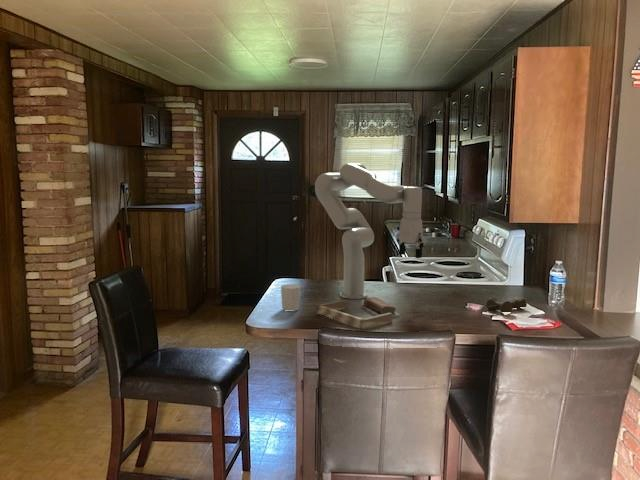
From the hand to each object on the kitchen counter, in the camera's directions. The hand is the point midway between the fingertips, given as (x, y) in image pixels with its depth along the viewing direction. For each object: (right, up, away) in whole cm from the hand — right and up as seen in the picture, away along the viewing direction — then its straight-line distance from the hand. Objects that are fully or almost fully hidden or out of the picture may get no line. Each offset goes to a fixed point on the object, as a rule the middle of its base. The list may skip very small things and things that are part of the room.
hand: (410, 256), depth 223 cm
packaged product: (-14, -24, -7) cm, 28 cm away
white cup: (-51, -22, -5) cm, 56 cm away
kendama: (+39, -23, -4) cm, 46 cm away
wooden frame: (-25, -24, -16) cm, 38 cm away
